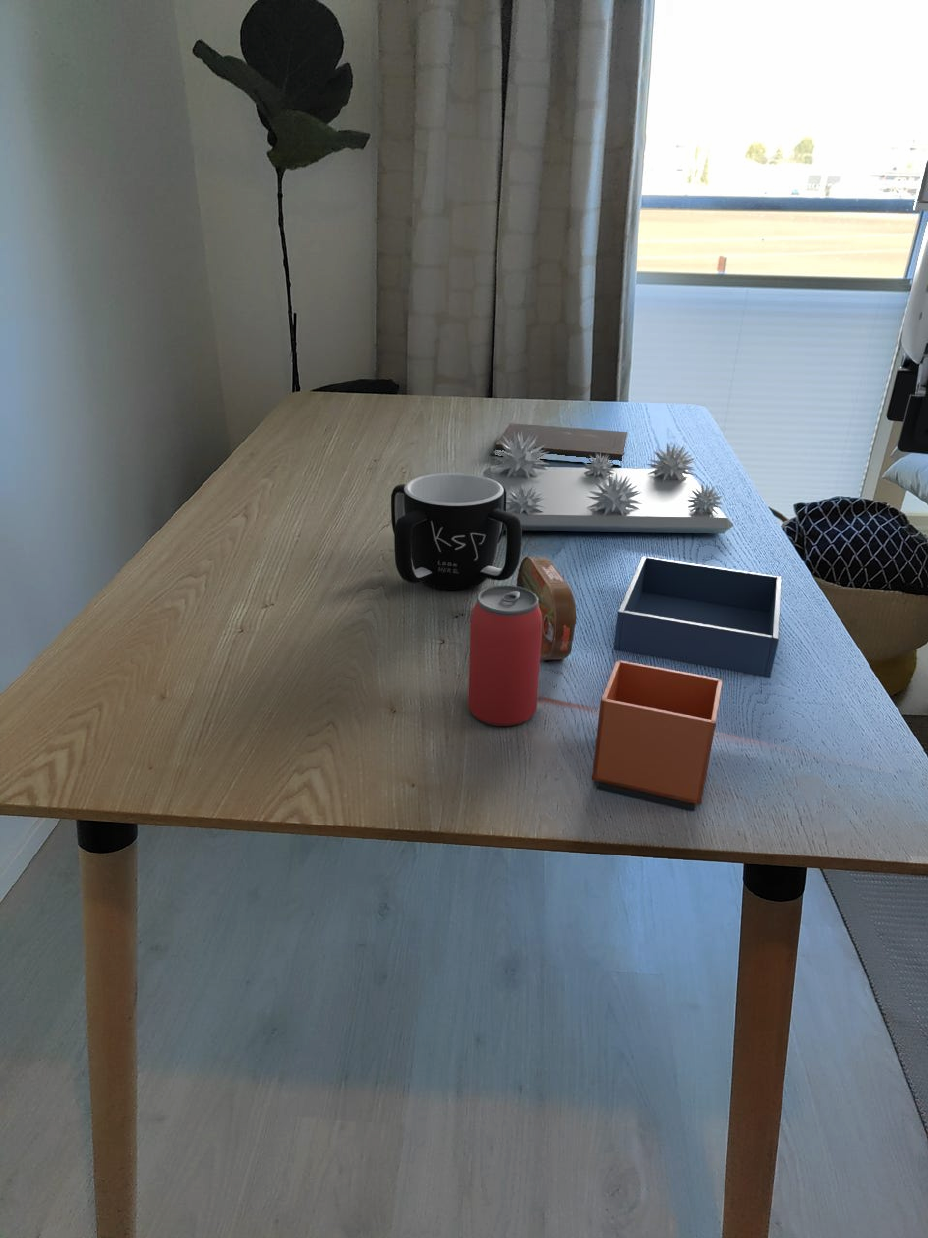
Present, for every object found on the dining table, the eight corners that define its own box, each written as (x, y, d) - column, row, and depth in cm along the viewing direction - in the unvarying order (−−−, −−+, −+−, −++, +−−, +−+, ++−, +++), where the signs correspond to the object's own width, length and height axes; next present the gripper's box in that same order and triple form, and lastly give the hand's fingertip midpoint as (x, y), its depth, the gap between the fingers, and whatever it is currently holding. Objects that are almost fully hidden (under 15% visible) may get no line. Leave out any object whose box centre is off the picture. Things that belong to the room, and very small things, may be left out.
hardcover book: (509, 434, 170) (510, 422, 169) (626, 443, 166) (627, 431, 165) (494, 456, 156) (494, 444, 155) (621, 467, 152) (622, 454, 151)
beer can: (547, 704, 83) (556, 593, 78) (516, 737, 78) (523, 621, 73) (488, 685, 86) (493, 576, 80) (455, 716, 81) (457, 602, 75)
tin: (512, 610, 101) (516, 544, 97) (538, 609, 101) (543, 543, 98) (546, 676, 88) (552, 602, 84) (575, 674, 88) (583, 600, 84)
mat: (703, 756, 76) (704, 752, 76) (694, 811, 69) (694, 807, 69) (614, 737, 78) (615, 733, 78) (597, 789, 72) (597, 785, 72)
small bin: (708, 756, 75) (723, 679, 72) (700, 805, 70) (715, 723, 66) (607, 735, 78) (616, 659, 74) (591, 780, 72) (600, 700, 68)
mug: (382, 603, 102) (380, 508, 96) (393, 551, 116) (392, 465, 111) (519, 606, 102) (524, 511, 96) (513, 554, 116) (518, 468, 111)
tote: (774, 615, 101) (782, 576, 99) (769, 682, 88) (778, 639, 85) (637, 593, 106) (642, 555, 104) (612, 653, 92) (617, 611, 90)
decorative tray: (490, 537, 121) (492, 469, 117) (482, 480, 144) (484, 421, 140) (733, 540, 122) (745, 473, 118) (687, 482, 145) (696, 424, 141)
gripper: (1075, 191, 50) (987, 473, 58) (1014, 189, 65) (950, 415, 72) (934, 188, 52) (867, 460, 60) (905, 187, 67) (855, 406, 75)
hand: (912, 435), depth 66 cm, fingers open, 9 cm apart
